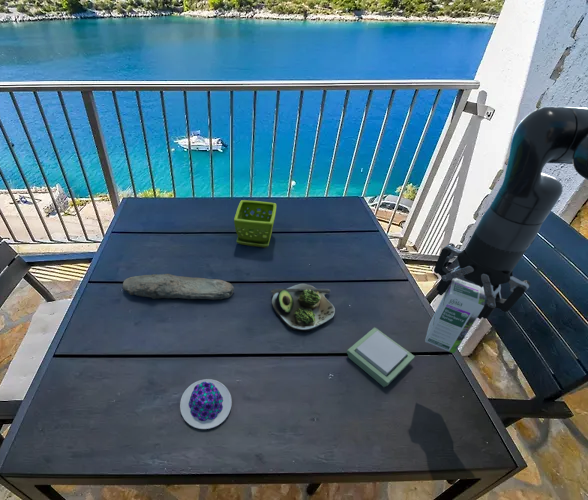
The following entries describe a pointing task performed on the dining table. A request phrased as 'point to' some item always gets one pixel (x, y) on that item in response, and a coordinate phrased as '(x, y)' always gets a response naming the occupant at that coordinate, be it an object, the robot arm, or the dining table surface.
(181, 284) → the elongated rock
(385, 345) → the pan
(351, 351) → the scale
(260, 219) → the flower pot
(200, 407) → the pudding
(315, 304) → the salad plate
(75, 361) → the dining table surface
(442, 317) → the syrup box
